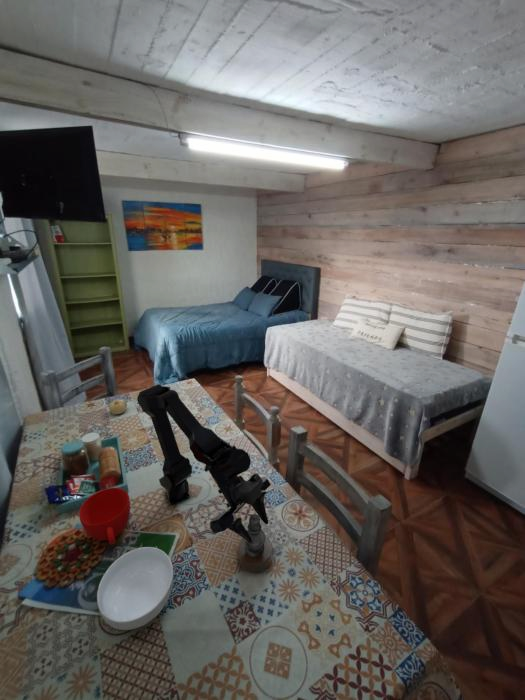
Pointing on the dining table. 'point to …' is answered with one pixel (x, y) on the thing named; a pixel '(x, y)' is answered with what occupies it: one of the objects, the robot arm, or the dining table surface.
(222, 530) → the robot arm
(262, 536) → the grey stone chess piece
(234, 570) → the dining table surface
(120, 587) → the cereal bowl
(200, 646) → the dining table surface
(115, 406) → the onion
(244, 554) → the walnut puck
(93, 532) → the ceramic cup
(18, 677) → the dining table surface
